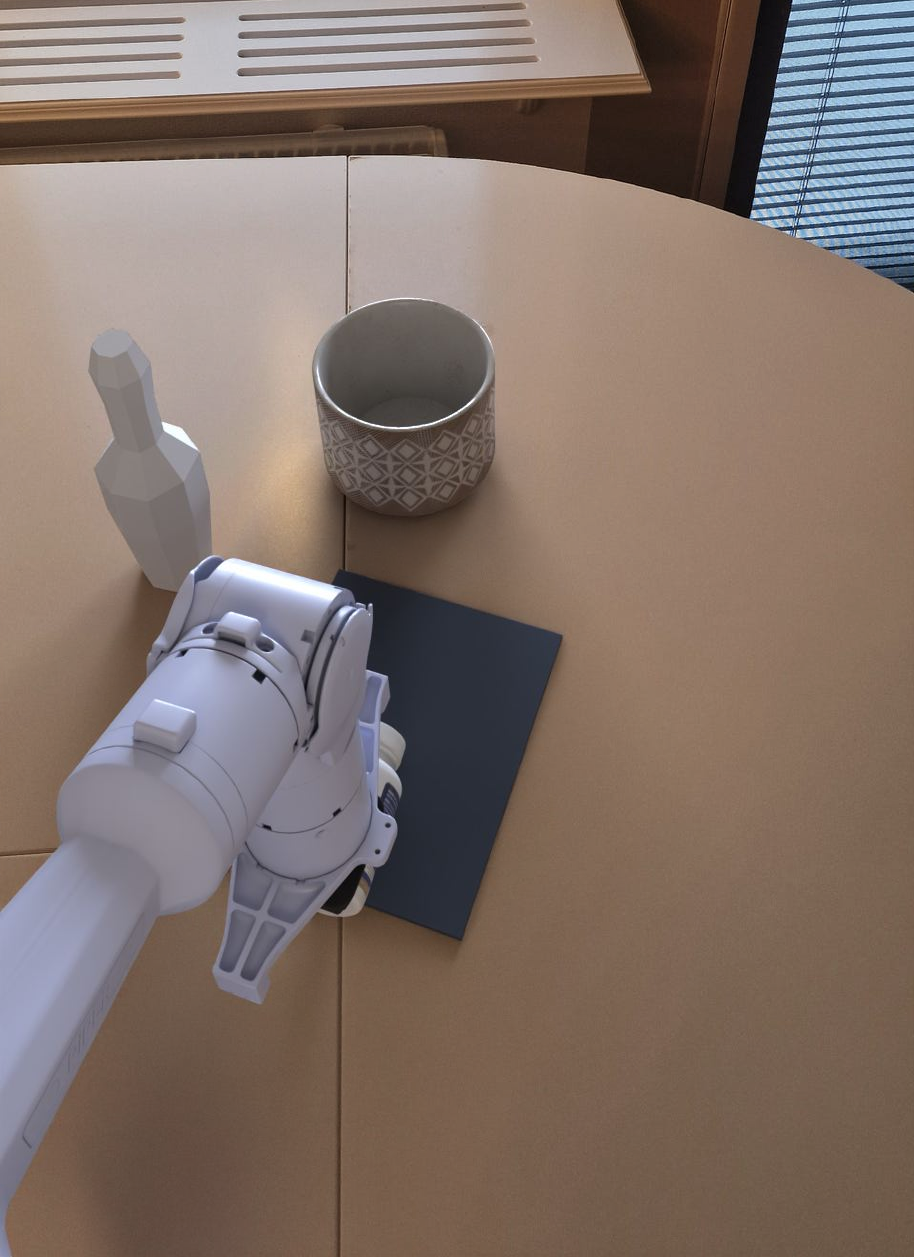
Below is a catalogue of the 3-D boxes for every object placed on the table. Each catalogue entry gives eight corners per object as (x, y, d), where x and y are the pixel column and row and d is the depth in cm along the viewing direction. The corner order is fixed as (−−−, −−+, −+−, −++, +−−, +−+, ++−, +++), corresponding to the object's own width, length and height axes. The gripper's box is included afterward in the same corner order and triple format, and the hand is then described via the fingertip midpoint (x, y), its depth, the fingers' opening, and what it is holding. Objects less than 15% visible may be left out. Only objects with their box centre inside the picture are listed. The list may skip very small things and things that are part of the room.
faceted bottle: (241, 551, 90) (190, 331, 75) (179, 618, 87) (111, 399, 72) (175, 511, 93) (112, 290, 78) (111, 573, 89) (33, 354, 74)
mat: (461, 942, 71) (461, 939, 71) (202, 846, 75) (202, 843, 75) (562, 638, 85) (562, 634, 85) (339, 571, 89) (338, 568, 89)
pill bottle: (325, 925, 73) (382, 766, 79) (380, 914, 69) (435, 749, 76) (250, 878, 71) (315, 720, 78) (302, 864, 68) (365, 700, 74)
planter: (497, 524, 92) (497, 429, 84) (319, 527, 92) (304, 432, 85) (492, 391, 101) (492, 295, 94) (331, 394, 101) (318, 299, 94)
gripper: (312, 977, 48) (343, 1085, 57) (444, 645, 58) (453, 783, 67) (145, 913, 50) (201, 1028, 59) (301, 601, 59) (328, 742, 69)
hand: (326, 894), depth 63 cm, fingers closed
